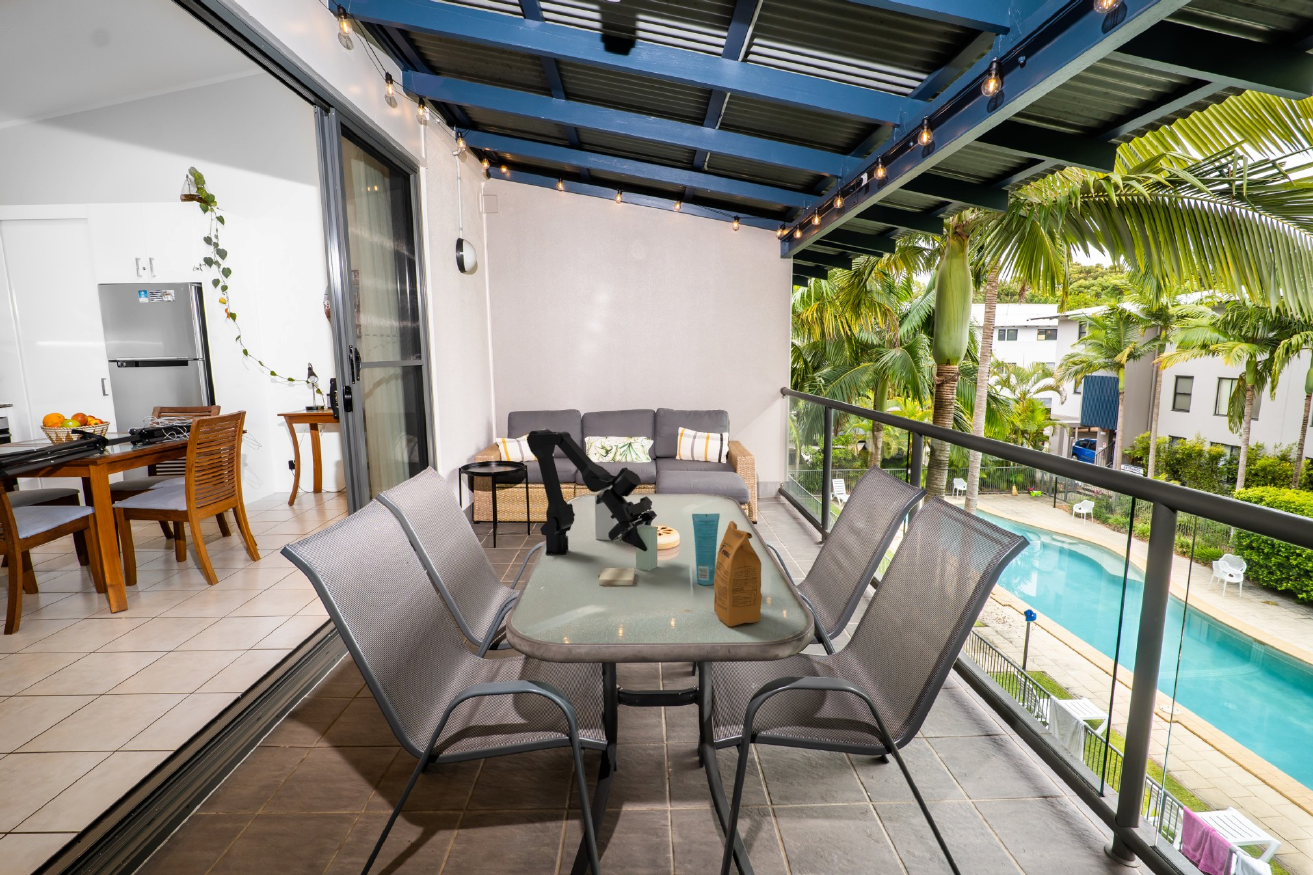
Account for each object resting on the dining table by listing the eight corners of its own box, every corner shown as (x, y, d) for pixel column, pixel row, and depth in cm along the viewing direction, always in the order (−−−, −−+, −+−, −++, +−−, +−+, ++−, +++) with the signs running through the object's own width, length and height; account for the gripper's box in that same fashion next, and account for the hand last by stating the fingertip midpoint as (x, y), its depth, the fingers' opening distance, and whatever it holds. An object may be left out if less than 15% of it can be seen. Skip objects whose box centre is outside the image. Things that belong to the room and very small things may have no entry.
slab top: (598, 584, 161) (598, 579, 161) (603, 573, 170) (603, 567, 170) (632, 585, 161) (632, 579, 161) (635, 573, 170) (635, 568, 169)
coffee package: (747, 604, 149) (749, 517, 147) (765, 626, 137) (767, 531, 135) (708, 607, 148) (709, 520, 145) (723, 629, 136) (724, 534, 133)
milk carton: (595, 539, 205) (594, 484, 203) (603, 533, 212) (602, 480, 210) (614, 541, 203) (614, 485, 201) (622, 535, 210) (621, 481, 208)
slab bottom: (604, 592, 160) (603, 586, 160) (597, 580, 168) (597, 575, 168) (637, 588, 162) (636, 583, 162) (629, 577, 171) (629, 572, 171)
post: (636, 570, 174) (635, 528, 173) (644, 566, 178) (644, 524, 177) (649, 573, 172) (649, 530, 171) (657, 568, 176) (657, 526, 174)
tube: (716, 578, 168) (716, 510, 165) (721, 584, 163) (721, 515, 161) (690, 580, 166) (690, 512, 164) (694, 586, 162) (694, 516, 159)
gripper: (616, 495, 166) (651, 540, 162) (651, 483, 182) (683, 524, 178) (593, 519, 171) (626, 563, 167) (629, 506, 187) (660, 546, 183)
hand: (650, 548), depth 174 cm, fingers closed on post, 4 cm apart
